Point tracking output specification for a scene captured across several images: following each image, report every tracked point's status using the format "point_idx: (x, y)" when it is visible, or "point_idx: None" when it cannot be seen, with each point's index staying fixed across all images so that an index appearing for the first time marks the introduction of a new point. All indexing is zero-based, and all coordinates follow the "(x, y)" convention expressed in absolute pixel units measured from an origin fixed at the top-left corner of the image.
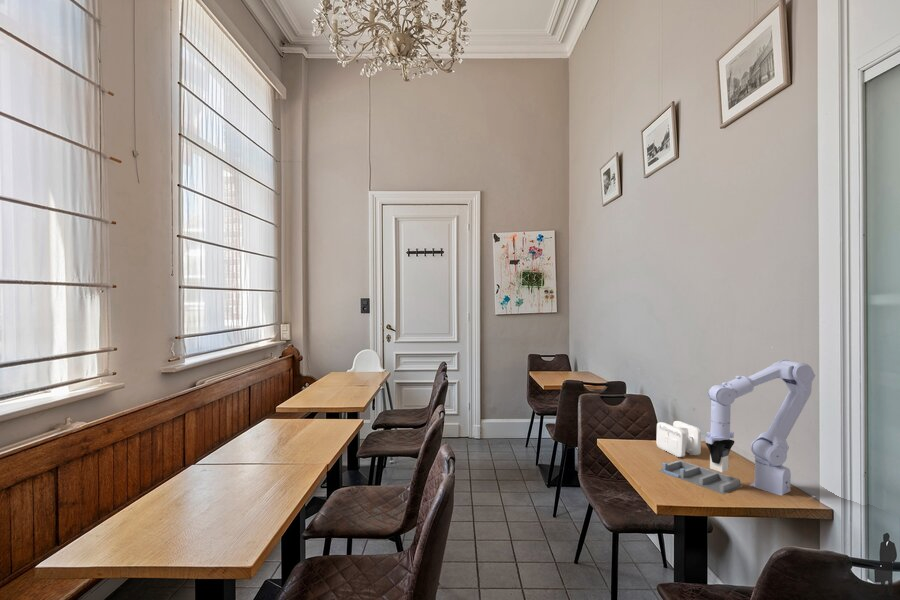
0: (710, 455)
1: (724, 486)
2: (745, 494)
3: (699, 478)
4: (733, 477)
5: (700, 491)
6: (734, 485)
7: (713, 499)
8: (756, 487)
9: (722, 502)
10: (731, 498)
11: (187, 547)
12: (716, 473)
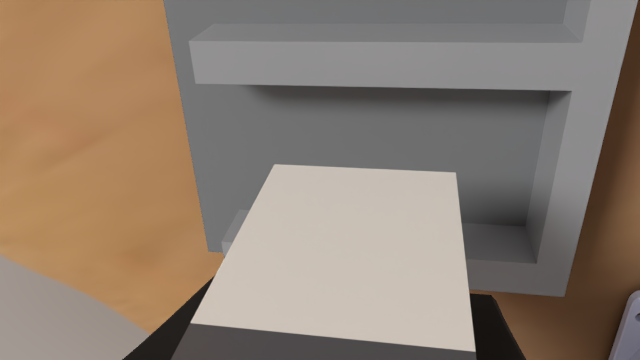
0: (207, 301)
1: None
2: None
3: (190, 44)
4: (571, 243)
5: (113, 103)
6: None
7: (88, 224)
8: (619, 344)
9: (109, 274)
10: None
11: None
12: (546, 82)
